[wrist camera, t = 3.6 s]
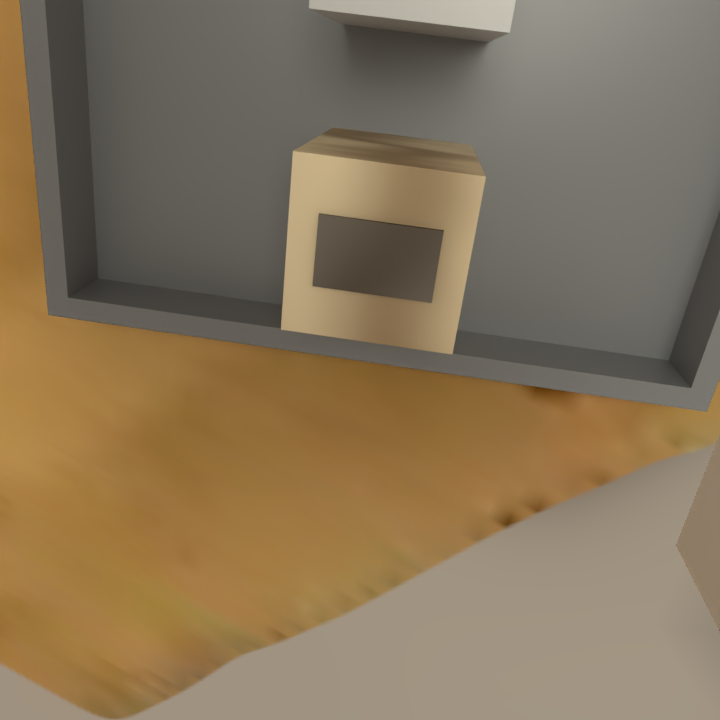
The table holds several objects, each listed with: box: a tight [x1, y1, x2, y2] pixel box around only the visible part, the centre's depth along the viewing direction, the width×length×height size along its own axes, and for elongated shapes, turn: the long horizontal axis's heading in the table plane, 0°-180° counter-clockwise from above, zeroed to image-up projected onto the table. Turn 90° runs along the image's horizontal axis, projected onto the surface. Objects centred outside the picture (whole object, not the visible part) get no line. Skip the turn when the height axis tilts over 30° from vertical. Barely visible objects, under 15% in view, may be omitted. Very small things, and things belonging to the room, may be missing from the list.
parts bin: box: [20, 0, 720, 412], centre depth 27 cm, size 30×22×4 cm
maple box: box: [281, 127, 486, 354], centre depth 25 cm, size 6×6×9 cm
